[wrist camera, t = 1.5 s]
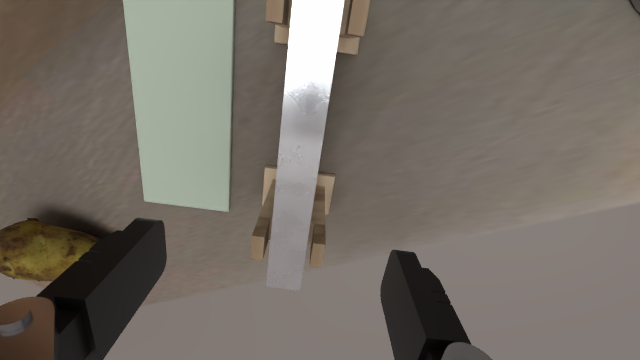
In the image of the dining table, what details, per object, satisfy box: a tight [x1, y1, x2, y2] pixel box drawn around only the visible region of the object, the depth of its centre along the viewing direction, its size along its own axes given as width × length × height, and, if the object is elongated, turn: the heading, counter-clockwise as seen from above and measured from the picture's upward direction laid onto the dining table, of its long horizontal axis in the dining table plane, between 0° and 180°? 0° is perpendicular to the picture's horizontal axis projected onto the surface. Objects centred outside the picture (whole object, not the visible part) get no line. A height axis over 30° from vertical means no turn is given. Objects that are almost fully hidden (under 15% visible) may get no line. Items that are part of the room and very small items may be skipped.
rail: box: [266, 0, 344, 291], centre depth 23 cm, size 3×26×3 cm, turn 172°
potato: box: [0, 218, 100, 281], centre depth 36 cm, size 8×13×8 cm, turn 38°
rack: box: [251, 0, 370, 268], centre depth 27 cm, size 8×23×12 cm, turn 172°
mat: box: [123, 0, 235, 212], centre depth 32 cm, size 10×26×1 cm, turn 172°
